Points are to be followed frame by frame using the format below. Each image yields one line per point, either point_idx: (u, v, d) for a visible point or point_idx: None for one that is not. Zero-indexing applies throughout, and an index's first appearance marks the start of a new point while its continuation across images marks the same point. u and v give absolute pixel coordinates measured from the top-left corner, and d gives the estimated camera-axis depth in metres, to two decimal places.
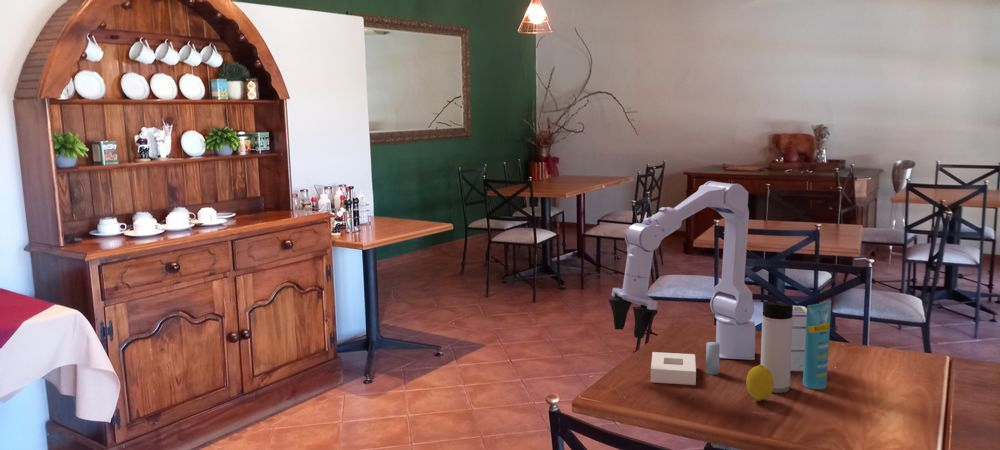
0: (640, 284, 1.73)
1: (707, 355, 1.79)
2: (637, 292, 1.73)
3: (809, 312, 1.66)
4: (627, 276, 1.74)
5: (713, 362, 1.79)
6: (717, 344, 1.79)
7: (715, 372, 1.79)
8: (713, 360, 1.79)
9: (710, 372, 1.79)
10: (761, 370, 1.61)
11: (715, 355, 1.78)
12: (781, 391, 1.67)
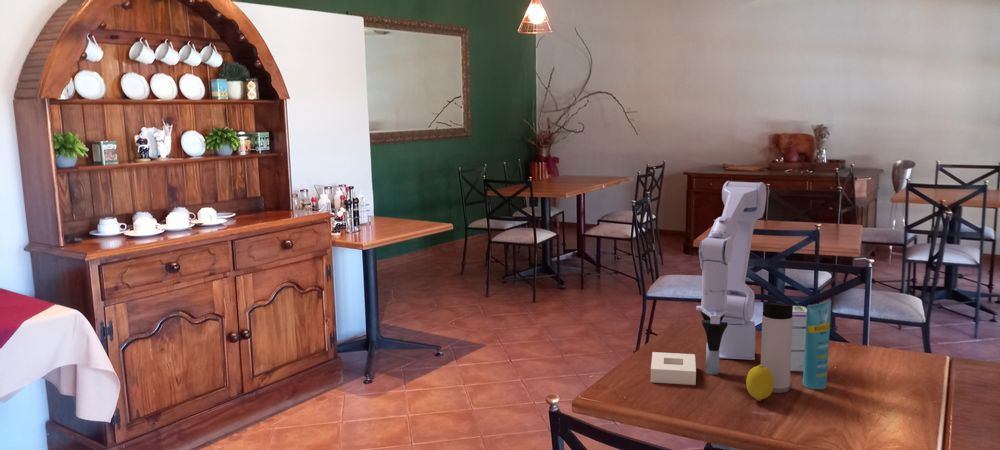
0: (711, 297, 1.75)
1: (707, 355, 1.79)
2: (709, 305, 1.76)
3: (809, 312, 1.66)
4: None
5: (713, 362, 1.79)
6: None
7: (715, 372, 1.79)
8: (713, 360, 1.79)
9: (710, 372, 1.79)
10: (761, 370, 1.61)
11: (715, 355, 1.78)
12: (781, 391, 1.67)
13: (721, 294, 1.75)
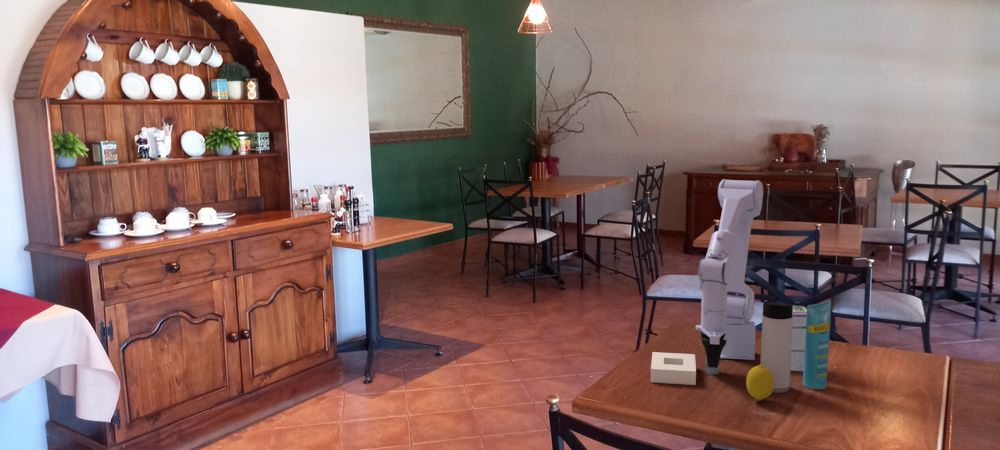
0: (710, 317, 1.76)
1: None
2: (708, 325, 1.76)
3: (809, 312, 1.66)
4: (701, 309, 1.79)
5: None
6: None
7: (715, 372, 1.79)
8: None
9: (710, 372, 1.79)
10: (761, 370, 1.61)
11: None
12: (781, 391, 1.67)
13: (720, 314, 1.76)
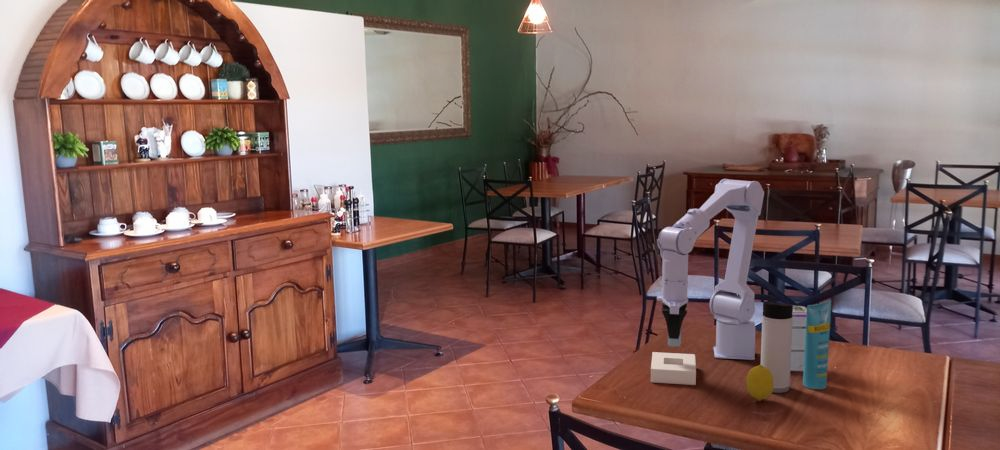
0: (671, 287, 1.74)
1: None
2: (669, 295, 1.74)
3: (809, 312, 1.66)
4: (662, 280, 1.77)
5: None
6: None
7: (677, 344, 1.77)
8: None
9: (672, 344, 1.77)
10: (761, 370, 1.61)
11: None
12: (781, 391, 1.67)
13: (681, 284, 1.73)
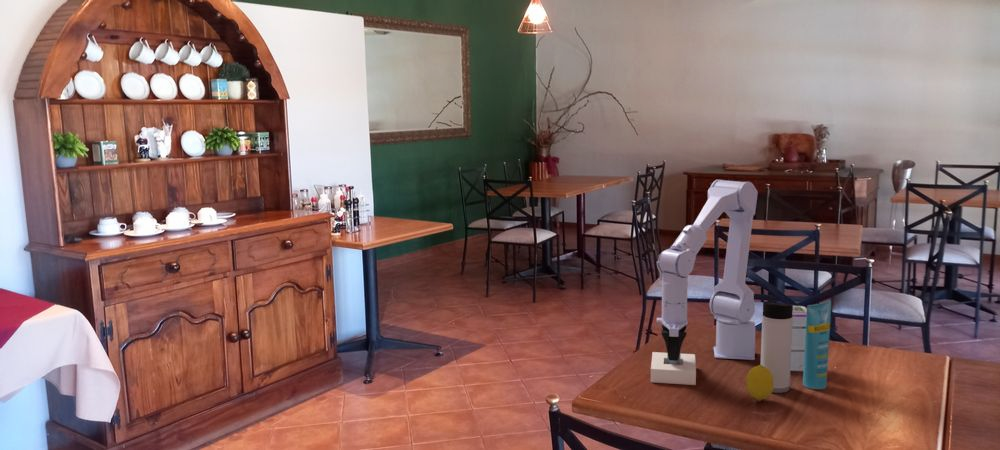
0: (670, 310, 1.75)
1: None
2: (668, 318, 1.75)
3: (809, 312, 1.66)
4: (662, 301, 1.77)
5: None
6: None
7: None
8: None
9: None
10: (761, 370, 1.61)
11: None
12: (781, 391, 1.67)
13: (680, 306, 1.74)
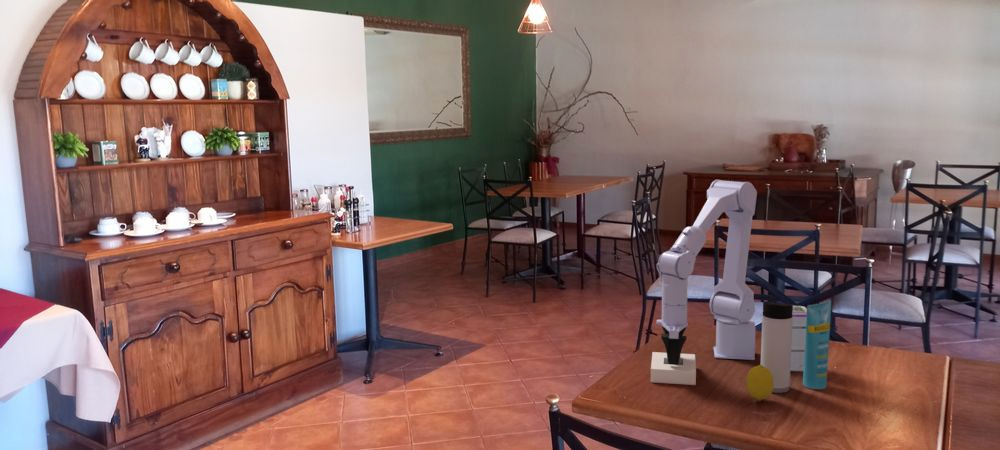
0: (670, 312, 1.75)
1: None
2: (668, 319, 1.75)
3: (809, 312, 1.66)
4: (662, 303, 1.77)
5: None
6: None
7: None
8: None
9: None
10: (761, 370, 1.61)
11: None
12: (781, 391, 1.67)
13: (680, 308, 1.74)
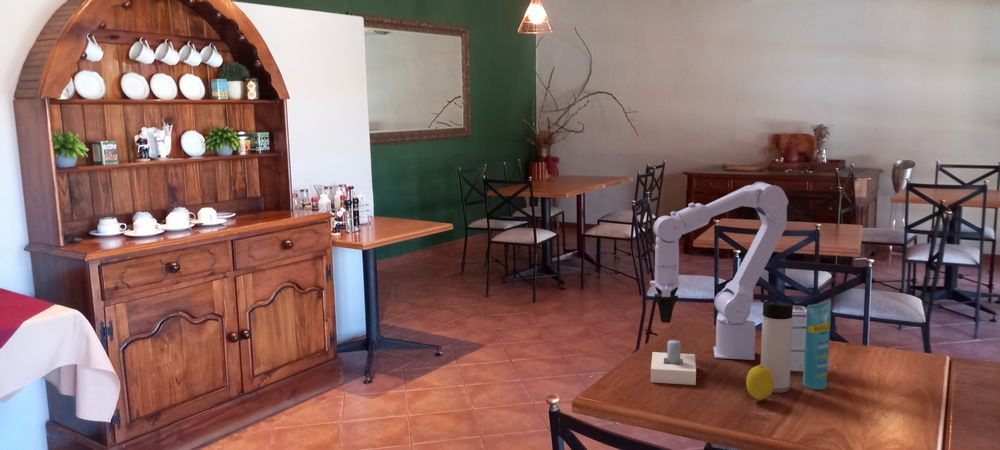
0: (663, 272, 1.87)
1: (668, 353, 1.78)
2: (661, 280, 1.87)
3: (809, 312, 1.66)
4: (655, 265, 1.89)
5: (674, 360, 1.78)
6: (678, 342, 1.78)
7: None
8: (675, 358, 1.77)
9: None
10: (761, 370, 1.61)
11: (676, 354, 1.77)
12: (781, 391, 1.67)
13: (672, 269, 1.86)
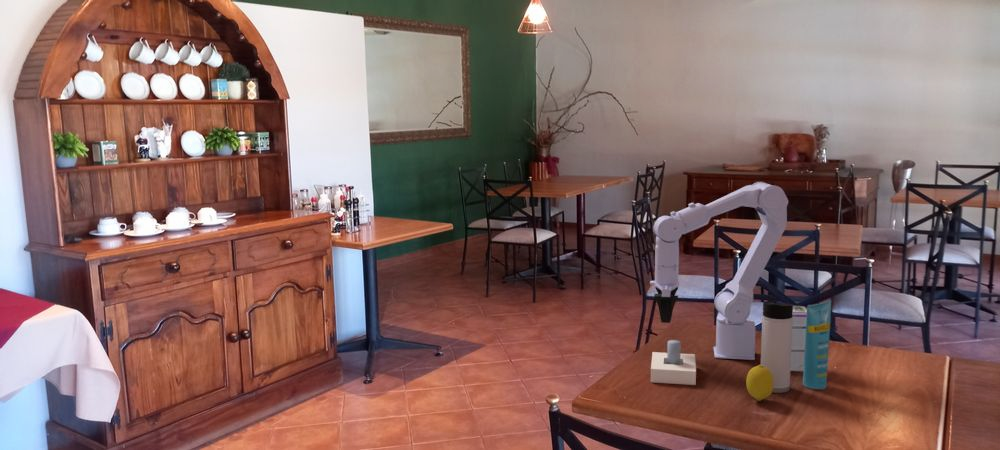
0: (663, 272, 1.87)
1: (668, 353, 1.78)
2: (661, 280, 1.87)
3: (809, 312, 1.66)
4: (655, 265, 1.89)
5: (674, 360, 1.78)
6: (678, 342, 1.78)
7: None
8: (675, 358, 1.77)
9: None
10: (761, 370, 1.61)
11: (676, 354, 1.77)
12: (781, 391, 1.67)
13: (672, 269, 1.86)
